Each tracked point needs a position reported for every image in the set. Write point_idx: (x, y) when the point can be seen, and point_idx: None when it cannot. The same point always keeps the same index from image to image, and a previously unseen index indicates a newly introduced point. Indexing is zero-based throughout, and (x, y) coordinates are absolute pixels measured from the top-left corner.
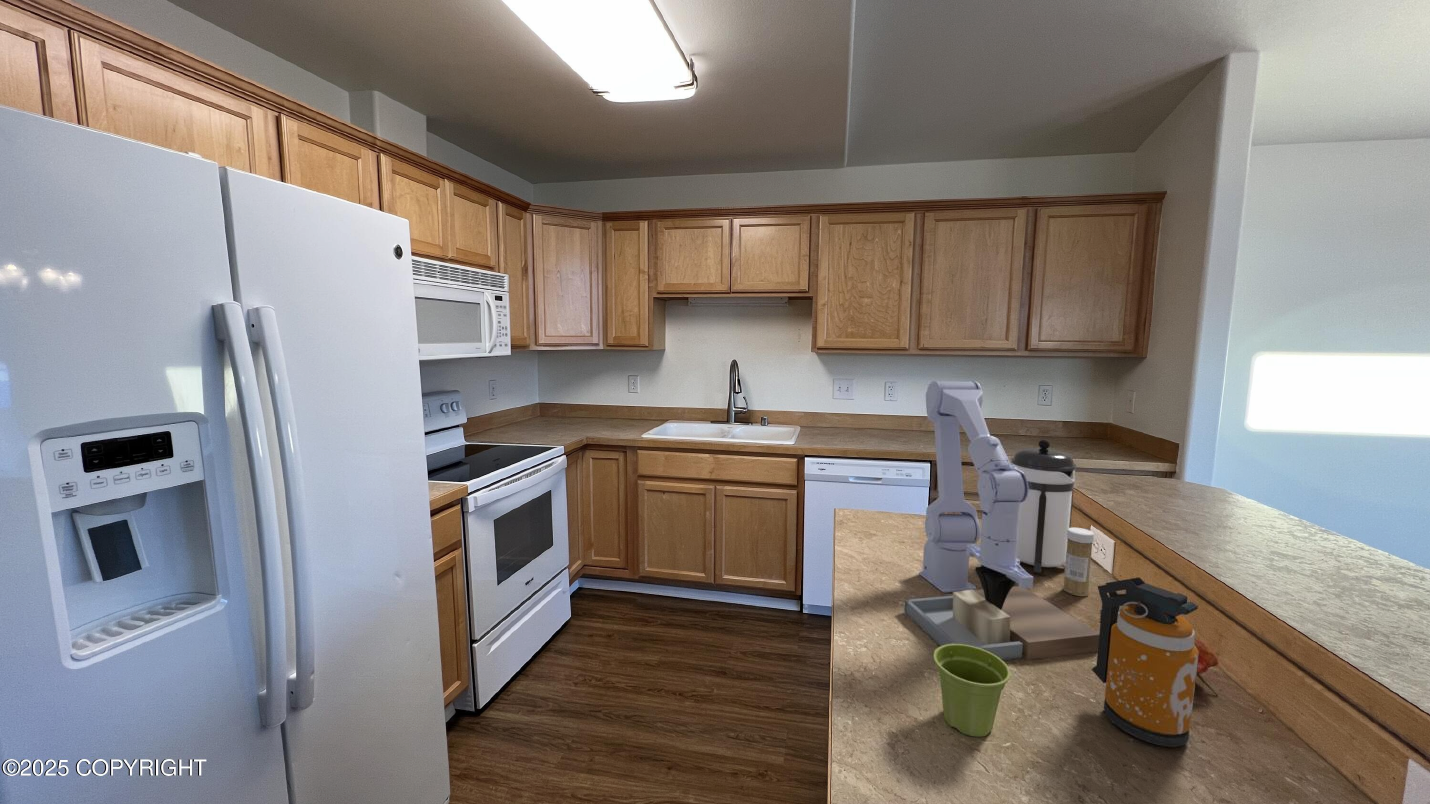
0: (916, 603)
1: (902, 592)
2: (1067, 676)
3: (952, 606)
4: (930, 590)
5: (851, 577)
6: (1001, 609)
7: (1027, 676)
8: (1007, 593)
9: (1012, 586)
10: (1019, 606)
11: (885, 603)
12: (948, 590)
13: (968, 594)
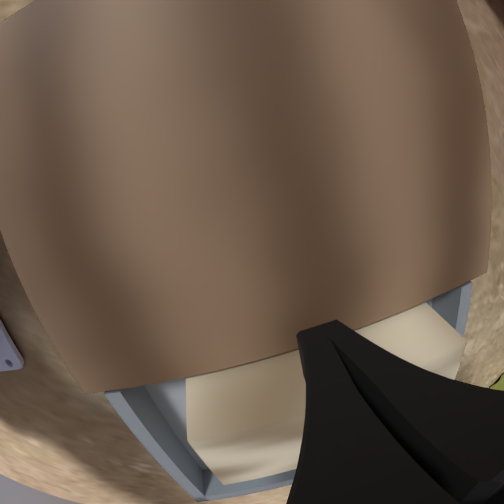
0: (197, 483)
1: (77, 451)
2: (500, 182)
3: (142, 390)
4: (25, 387)
5: (57, 491)
6: (341, 322)
7: (484, 282)
8: (415, 369)
9: (481, 389)
10: (209, 139)
11: (158, 487)
12: (13, 351)
13: (247, 456)
